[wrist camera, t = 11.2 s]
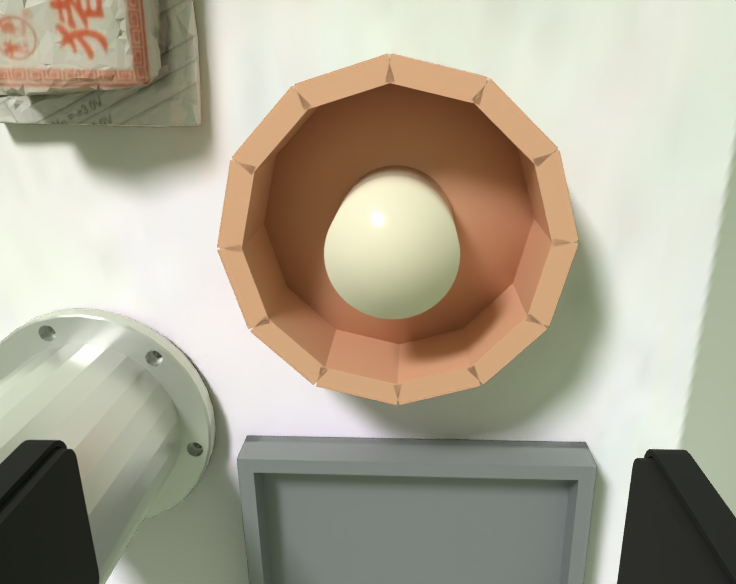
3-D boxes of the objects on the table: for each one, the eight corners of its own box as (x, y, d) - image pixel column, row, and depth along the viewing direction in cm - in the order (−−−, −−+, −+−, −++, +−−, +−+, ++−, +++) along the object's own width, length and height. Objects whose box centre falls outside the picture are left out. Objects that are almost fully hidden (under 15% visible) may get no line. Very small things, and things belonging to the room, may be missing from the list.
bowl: (401, 402, 34) (399, 457, 30) (192, 221, 32) (153, 250, 27) (612, 212, 30) (648, 241, 25) (391, -14, 28) (387, -28, 23)
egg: (397, 297, 31) (393, 344, 26) (316, 223, 30) (296, 257, 25) (476, 220, 30) (488, 254, 25) (394, 140, 29) (388, 158, 24)
